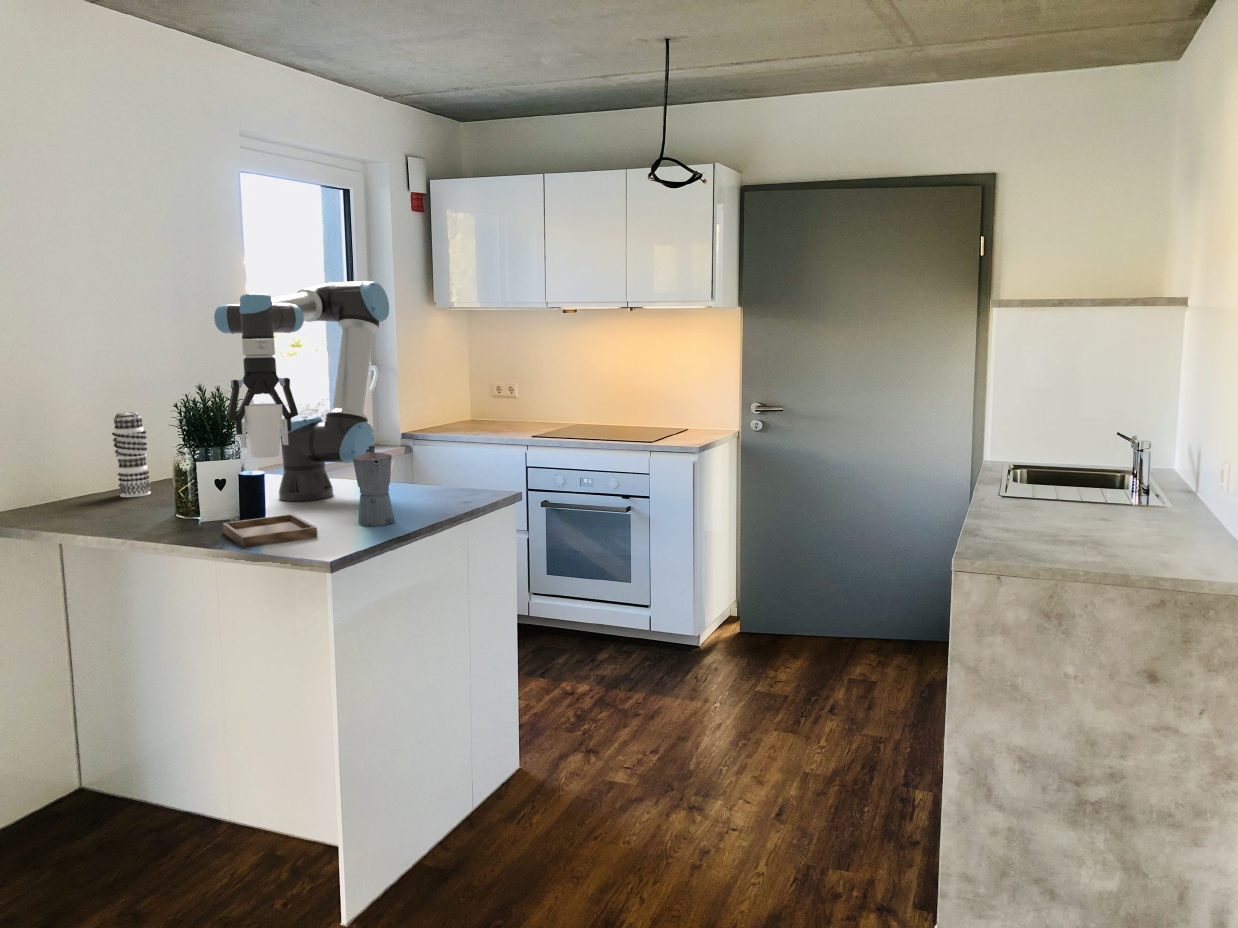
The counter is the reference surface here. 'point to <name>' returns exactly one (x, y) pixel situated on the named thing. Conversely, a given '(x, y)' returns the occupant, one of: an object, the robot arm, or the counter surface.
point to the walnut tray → (269, 530)
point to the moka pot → (374, 488)
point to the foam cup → (264, 429)
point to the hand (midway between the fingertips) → (265, 446)
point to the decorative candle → (131, 454)
